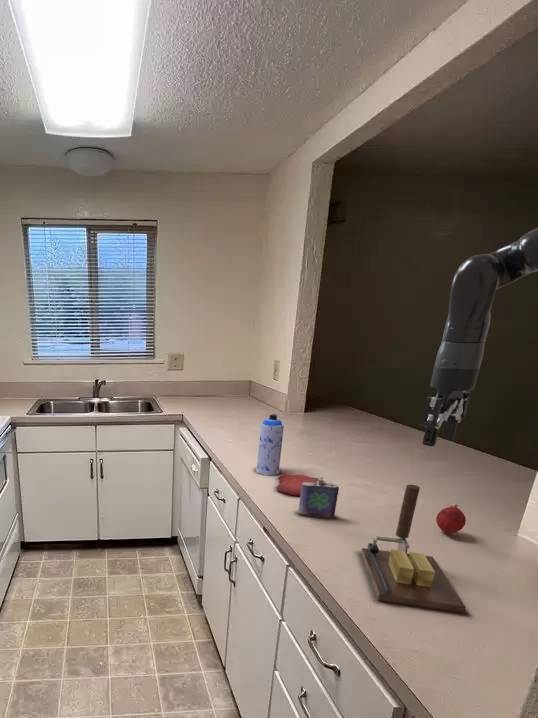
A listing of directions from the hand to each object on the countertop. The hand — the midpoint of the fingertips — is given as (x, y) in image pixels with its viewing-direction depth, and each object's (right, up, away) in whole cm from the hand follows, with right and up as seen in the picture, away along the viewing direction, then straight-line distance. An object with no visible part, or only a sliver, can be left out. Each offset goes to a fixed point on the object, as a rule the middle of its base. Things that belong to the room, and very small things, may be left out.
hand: (438, 442), depth 93 cm
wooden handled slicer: (-10, -25, +1) cm, 27 cm away
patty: (-13, -11, +44) cm, 47 cm away
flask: (-16, -18, +25) cm, 35 cm away
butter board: (-10, -29, -4) cm, 31 cm away
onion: (+12, -22, +14) cm, 28 cm away
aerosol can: (-19, -6, +58) cm, 61 cm away
